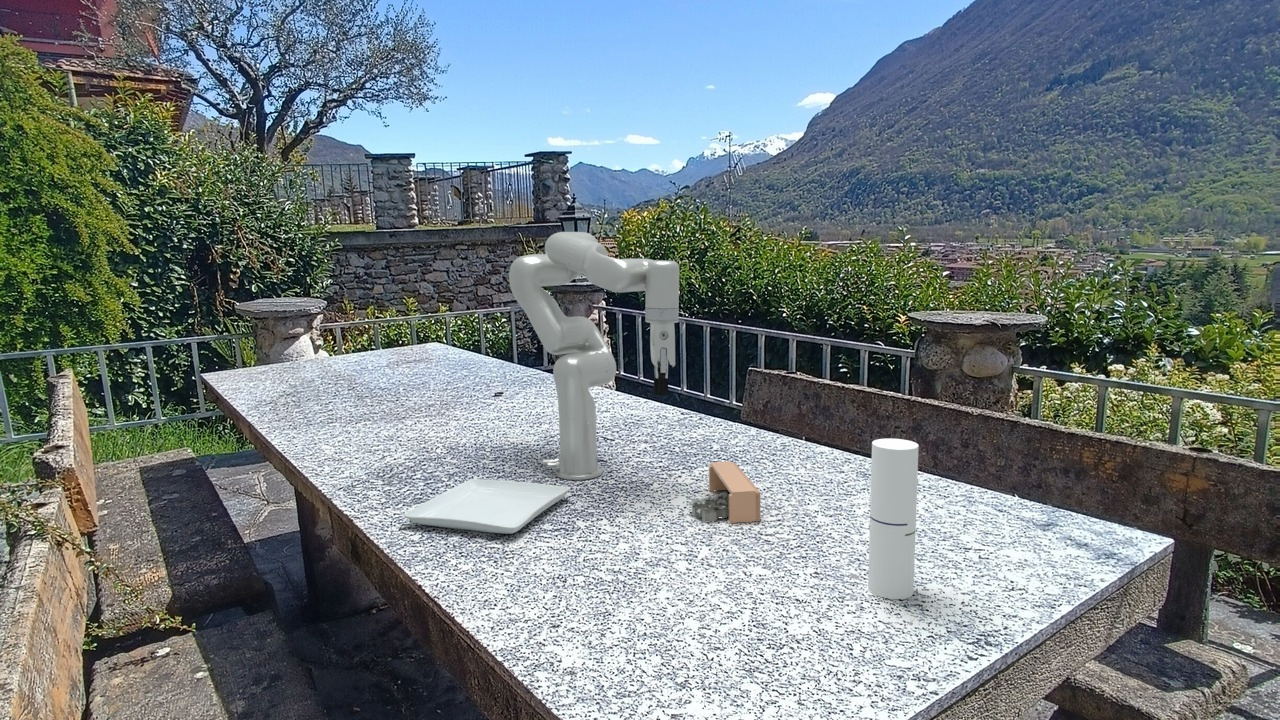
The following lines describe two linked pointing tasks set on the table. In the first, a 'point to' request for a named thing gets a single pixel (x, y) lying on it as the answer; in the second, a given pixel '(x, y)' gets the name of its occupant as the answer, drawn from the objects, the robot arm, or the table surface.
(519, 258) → the robot arm
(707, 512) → the egg carton
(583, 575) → the table surface
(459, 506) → the square plate
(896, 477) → the cylindrical container
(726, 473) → the shelf
